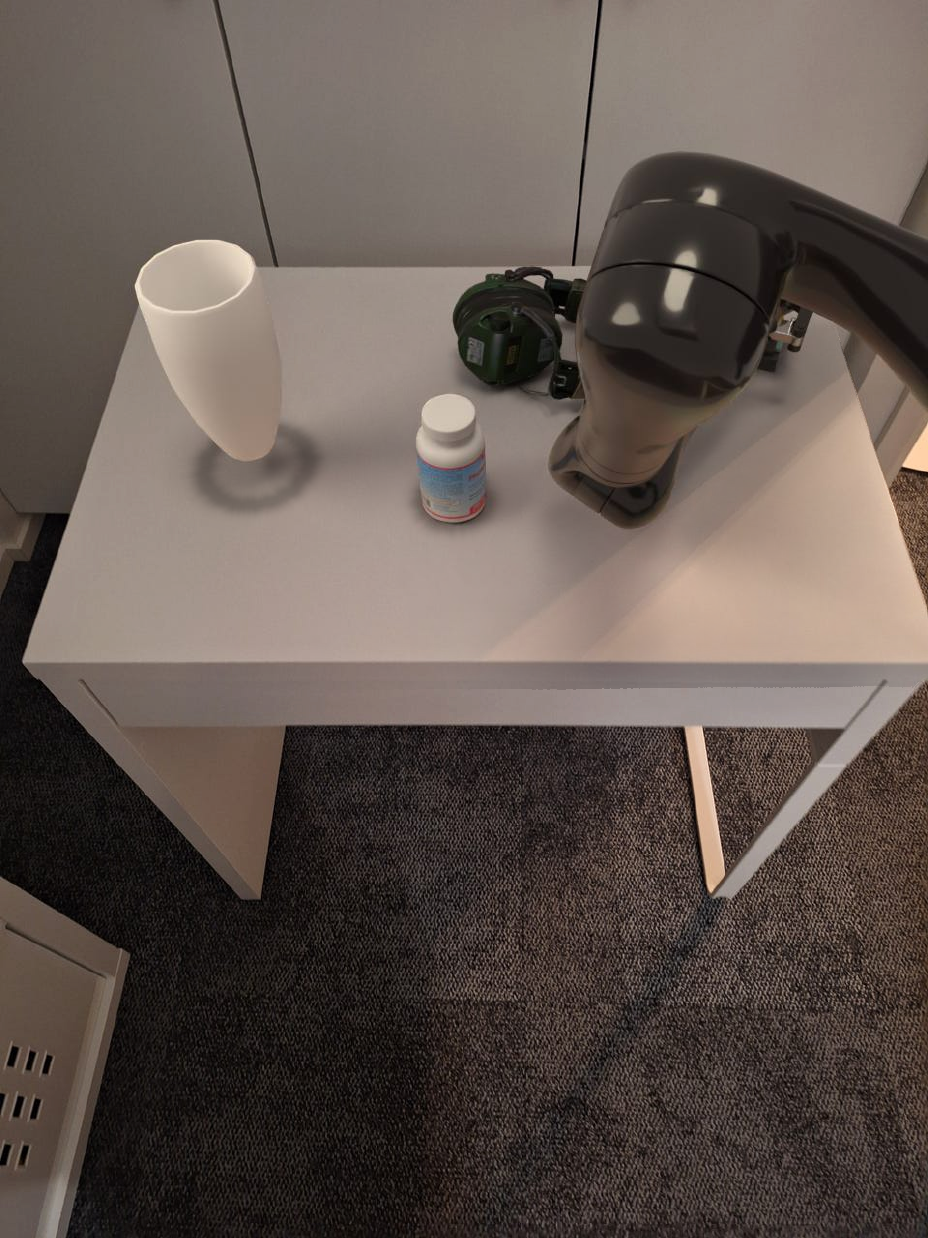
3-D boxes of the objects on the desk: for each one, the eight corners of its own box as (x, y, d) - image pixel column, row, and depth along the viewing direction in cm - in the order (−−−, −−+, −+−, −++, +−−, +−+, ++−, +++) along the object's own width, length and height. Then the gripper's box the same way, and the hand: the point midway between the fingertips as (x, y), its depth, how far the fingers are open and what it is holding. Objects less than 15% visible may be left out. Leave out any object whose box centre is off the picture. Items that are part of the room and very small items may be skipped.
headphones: (471, 398, 86) (672, 396, 89) (469, 247, 83) (675, 252, 87) (447, 405, 99) (623, 404, 102) (444, 275, 96) (625, 278, 100)
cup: (327, 476, 89) (283, 286, 71) (228, 521, 86) (156, 335, 68) (283, 412, 94) (231, 220, 76) (187, 453, 91) (110, 263, 73)
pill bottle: (486, 525, 85) (484, 437, 75) (420, 525, 85) (410, 438, 75) (486, 476, 88) (484, 386, 79) (423, 477, 88) (414, 387, 79)
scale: (785, 332, 98) (790, 315, 96) (774, 372, 94) (779, 355, 93) (723, 320, 99) (727, 302, 97) (710, 359, 96) (714, 342, 94)
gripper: (786, 353, 78) (860, 250, 85) (636, 296, 83) (719, 203, 90) (764, 418, 84) (836, 317, 91) (626, 362, 89) (704, 270, 96)
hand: (777, 261), depth 91 cm, fingers closed on supplement bottle, 5 cm apart
